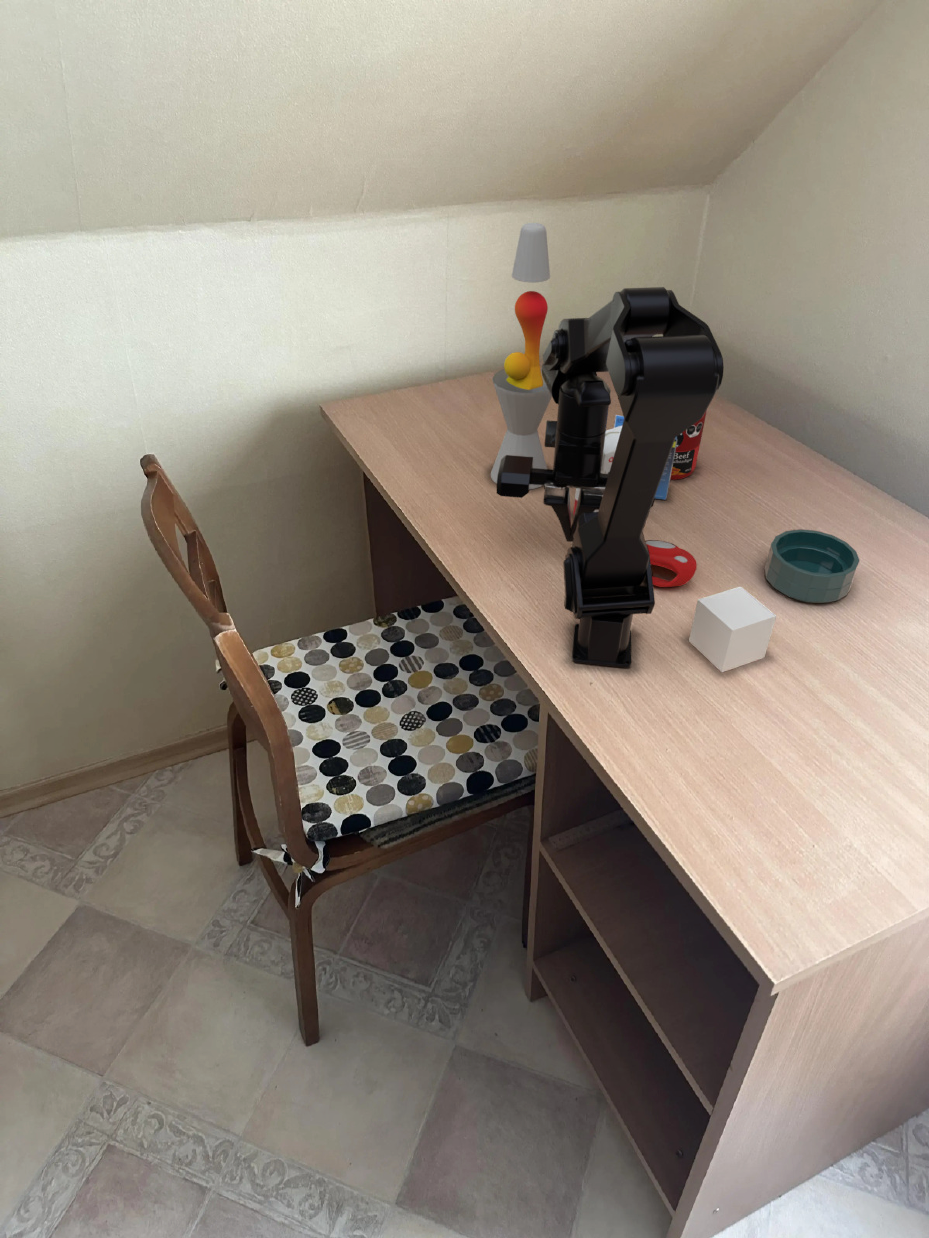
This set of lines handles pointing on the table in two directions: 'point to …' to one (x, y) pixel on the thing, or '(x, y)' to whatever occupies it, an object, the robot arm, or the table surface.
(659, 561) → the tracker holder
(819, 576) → the bowl
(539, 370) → the lava lamp
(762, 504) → the table surface
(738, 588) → the white cube
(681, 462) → the canned food
